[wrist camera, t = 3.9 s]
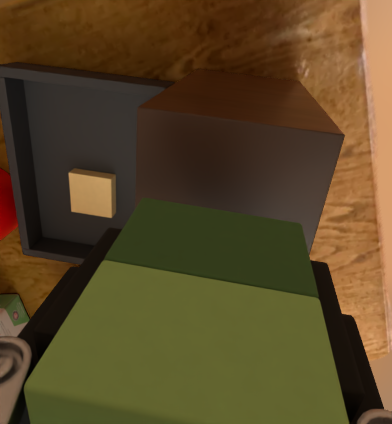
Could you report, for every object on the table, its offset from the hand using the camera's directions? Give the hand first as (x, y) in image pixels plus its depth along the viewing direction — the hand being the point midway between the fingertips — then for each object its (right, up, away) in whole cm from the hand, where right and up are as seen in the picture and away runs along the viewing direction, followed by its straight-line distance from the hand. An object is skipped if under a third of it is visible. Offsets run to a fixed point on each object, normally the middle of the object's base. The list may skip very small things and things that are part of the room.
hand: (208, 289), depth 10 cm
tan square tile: (-10, +4, +23) cm, 26 cm away
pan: (-10, +6, +23) cm, 26 cm away
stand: (+3, +9, +19) cm, 22 cm away
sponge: (0, -1, +1) cm, 1 cm away
